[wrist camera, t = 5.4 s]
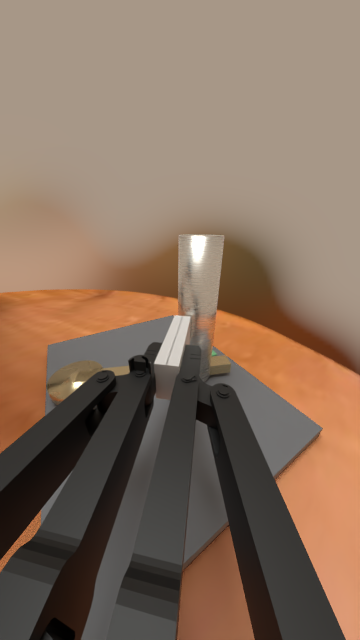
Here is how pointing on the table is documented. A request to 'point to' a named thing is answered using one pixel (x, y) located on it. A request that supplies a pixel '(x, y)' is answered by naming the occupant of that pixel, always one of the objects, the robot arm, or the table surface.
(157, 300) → the table surface
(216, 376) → the dial board
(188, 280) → the tuning peg
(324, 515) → the table surface
